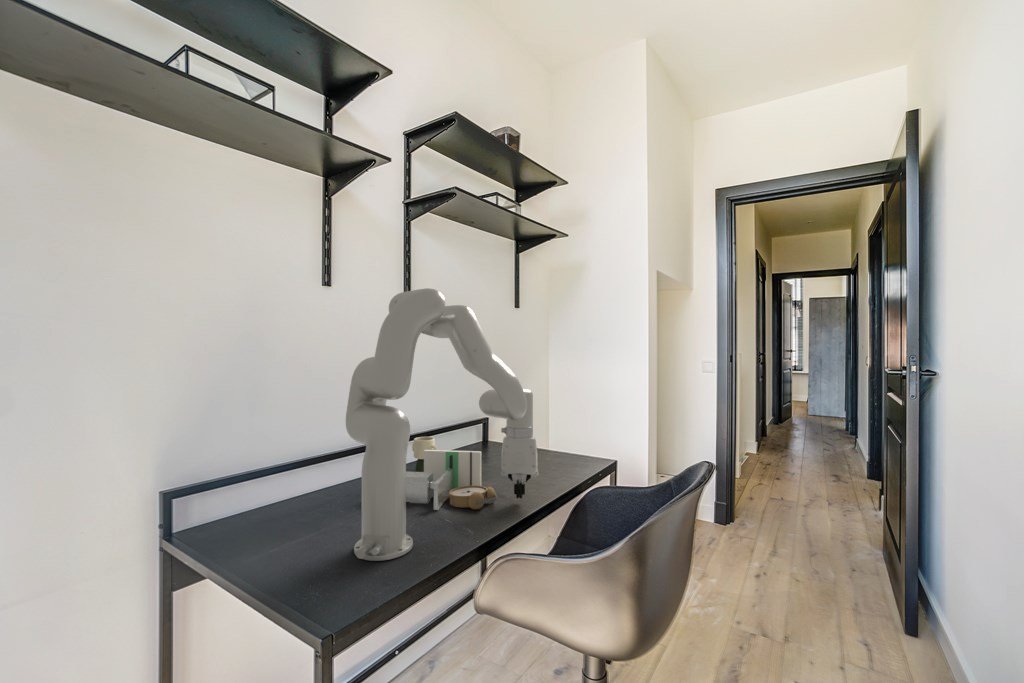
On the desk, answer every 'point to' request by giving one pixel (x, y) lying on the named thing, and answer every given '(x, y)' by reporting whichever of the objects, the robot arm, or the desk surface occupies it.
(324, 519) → the desk surface
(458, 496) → the alarm clock
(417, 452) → the character mug
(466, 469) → the board
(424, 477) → the block
